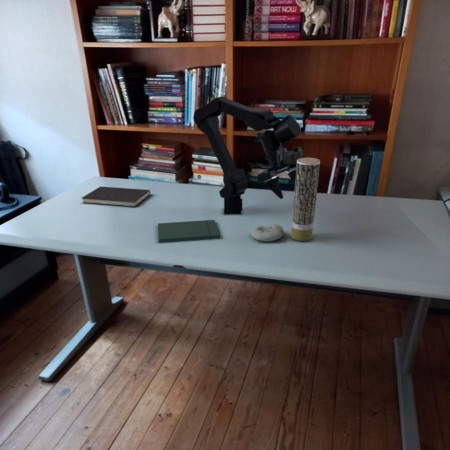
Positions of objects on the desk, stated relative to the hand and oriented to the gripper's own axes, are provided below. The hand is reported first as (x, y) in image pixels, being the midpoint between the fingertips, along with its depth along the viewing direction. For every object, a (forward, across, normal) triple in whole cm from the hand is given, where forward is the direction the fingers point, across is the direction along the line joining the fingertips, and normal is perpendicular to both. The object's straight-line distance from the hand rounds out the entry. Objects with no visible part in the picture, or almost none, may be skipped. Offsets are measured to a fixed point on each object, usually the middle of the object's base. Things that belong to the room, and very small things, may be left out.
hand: (291, 194), depth 139 cm
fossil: (+10, -12, +5) cm, 16 cm away
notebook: (-2, -28, +24) cm, 37 cm away
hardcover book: (-26, -27, +65) cm, 75 cm away
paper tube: (+14, -5, -2) cm, 15 cm away
